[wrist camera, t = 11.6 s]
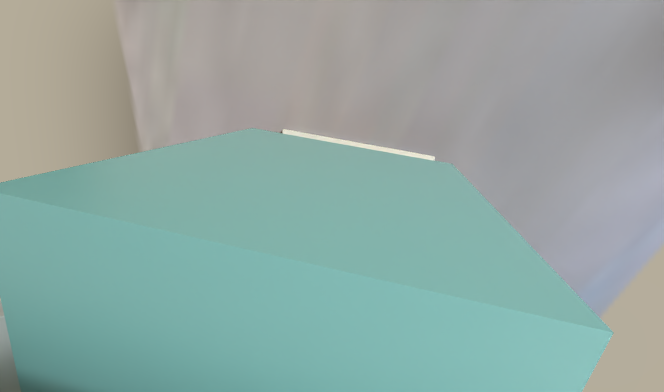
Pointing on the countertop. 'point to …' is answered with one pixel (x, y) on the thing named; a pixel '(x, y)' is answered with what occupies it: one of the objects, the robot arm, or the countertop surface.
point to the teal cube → (280, 277)
